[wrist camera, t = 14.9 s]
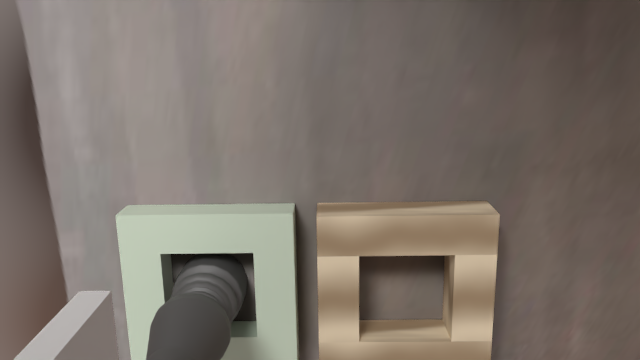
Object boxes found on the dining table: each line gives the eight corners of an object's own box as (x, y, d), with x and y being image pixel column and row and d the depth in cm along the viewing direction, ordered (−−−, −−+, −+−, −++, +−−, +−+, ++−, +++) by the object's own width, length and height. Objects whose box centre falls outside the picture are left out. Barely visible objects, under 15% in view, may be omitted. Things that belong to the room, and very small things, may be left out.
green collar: (127, 205, 51) (115, 215, 48) (294, 203, 51) (292, 213, 48) (143, 355, 55) (132, 373, 52) (299, 353, 55) (297, 371, 52)
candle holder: (254, 259, 52) (192, 452, 28) (239, 318, 54) (168, 550, 30) (188, 242, 52) (67, 423, 28) (174, 303, 54) (49, 524, 29)
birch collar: (317, 202, 51) (316, 216, 47) (486, 200, 51) (499, 214, 47) (320, 353, 55) (319, 378, 51) (478, 352, 55) (489, 376, 51)
